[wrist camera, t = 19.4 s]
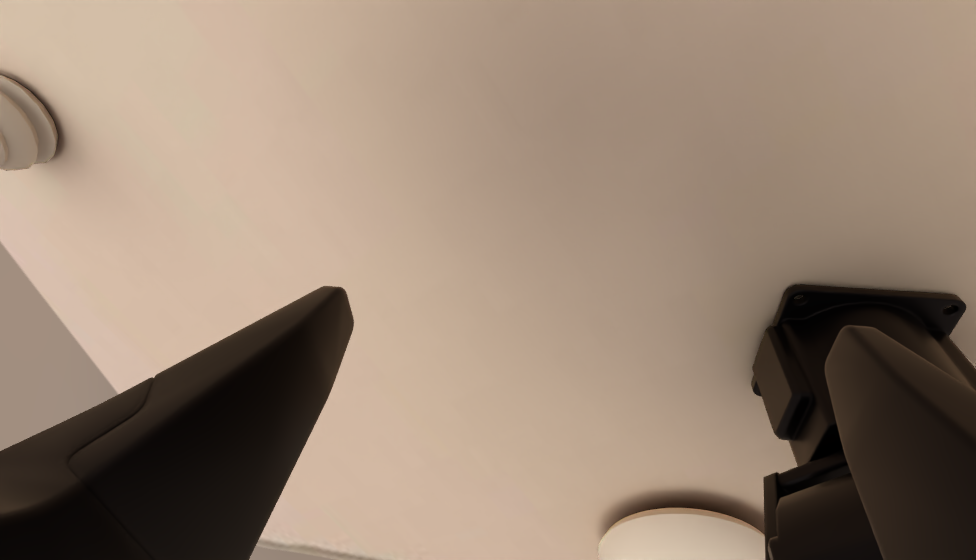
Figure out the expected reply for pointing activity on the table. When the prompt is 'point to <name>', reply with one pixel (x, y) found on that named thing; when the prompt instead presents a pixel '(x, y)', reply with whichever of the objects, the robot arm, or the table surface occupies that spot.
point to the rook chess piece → (24, 128)
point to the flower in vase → (681, 537)
